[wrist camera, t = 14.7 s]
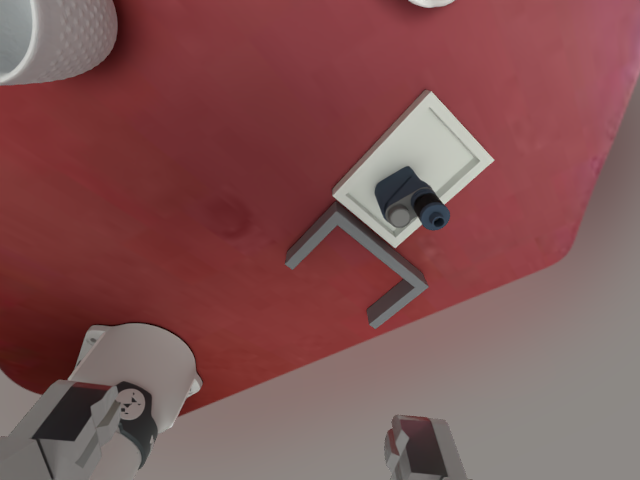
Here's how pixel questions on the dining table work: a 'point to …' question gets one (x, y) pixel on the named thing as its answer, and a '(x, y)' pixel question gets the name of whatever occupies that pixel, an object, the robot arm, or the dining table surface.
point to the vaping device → (410, 201)
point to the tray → (413, 163)
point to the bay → (350, 224)
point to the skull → (431, 3)
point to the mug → (53, 38)
